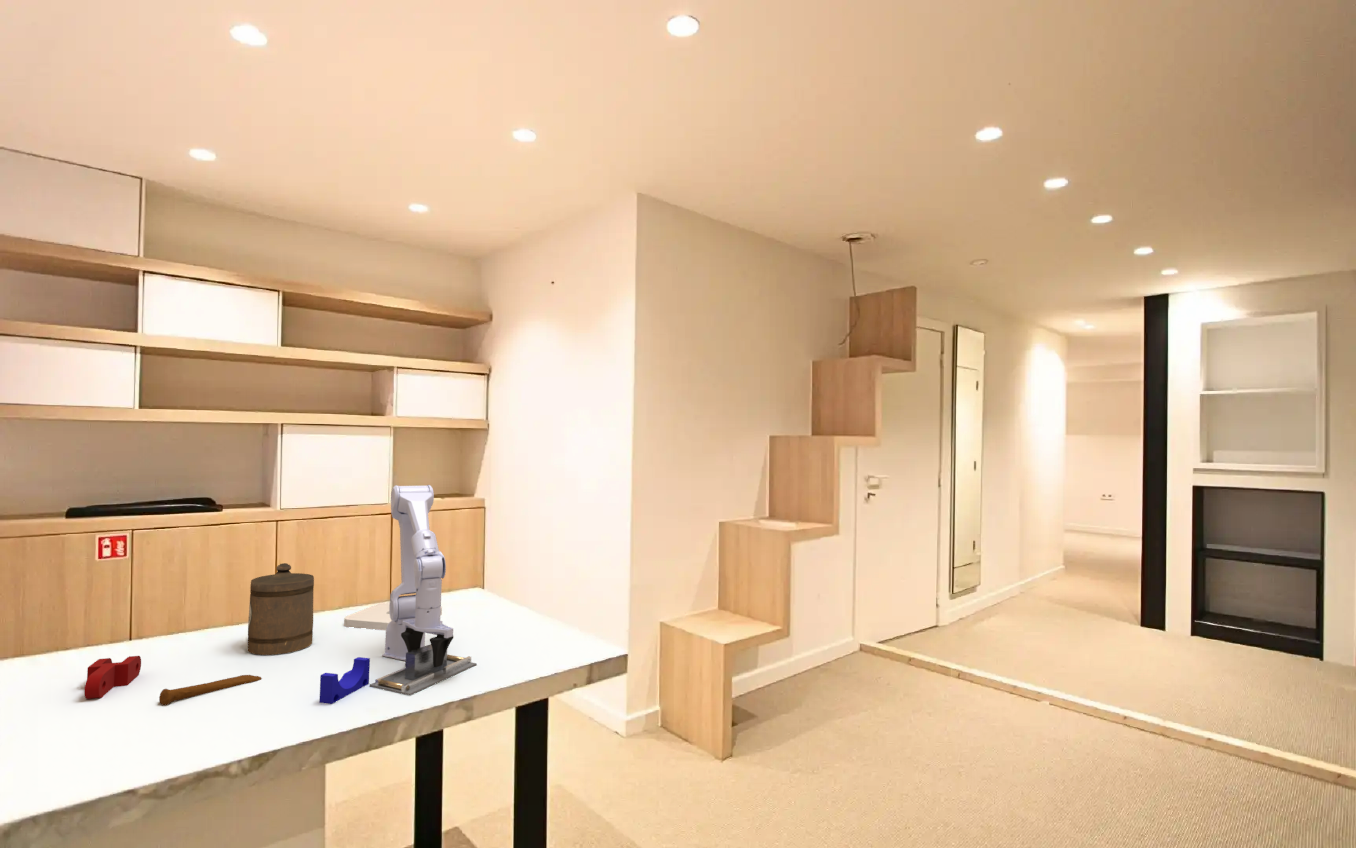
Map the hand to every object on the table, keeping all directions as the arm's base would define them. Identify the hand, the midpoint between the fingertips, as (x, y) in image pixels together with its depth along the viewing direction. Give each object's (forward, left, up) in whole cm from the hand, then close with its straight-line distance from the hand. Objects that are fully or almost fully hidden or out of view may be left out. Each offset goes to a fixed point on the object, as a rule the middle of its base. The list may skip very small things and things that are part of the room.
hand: (426, 663), depth 156 cm
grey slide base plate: (0, 0, -3) cm, 3 cm away
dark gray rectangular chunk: (0, 0, -2) cm, 2 cm away
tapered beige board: (-43, +32, -3) cm, 54 cm away
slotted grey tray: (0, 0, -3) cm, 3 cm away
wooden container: (-49, -1, -3) cm, 49 cm away
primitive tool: (-35, -27, -3) cm, 44 cm away
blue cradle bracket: (-8, -16, -3) cm, 19 cm away
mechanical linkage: (-56, -37, -3) cm, 67 cm away
